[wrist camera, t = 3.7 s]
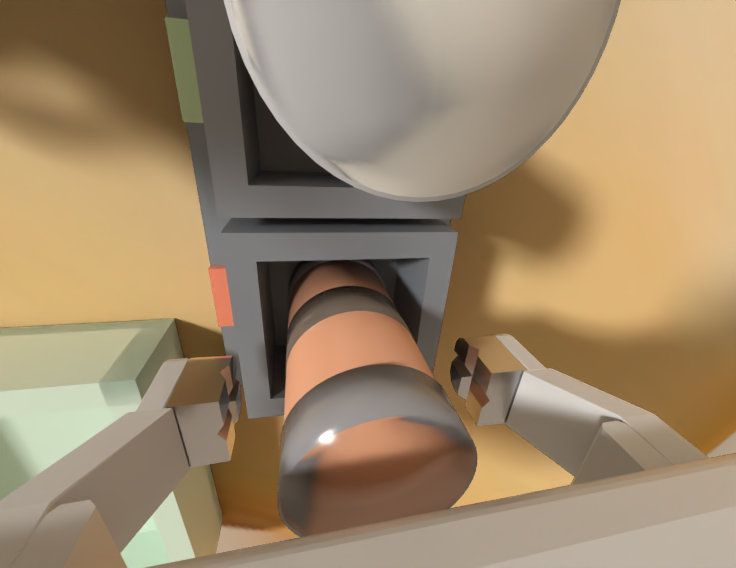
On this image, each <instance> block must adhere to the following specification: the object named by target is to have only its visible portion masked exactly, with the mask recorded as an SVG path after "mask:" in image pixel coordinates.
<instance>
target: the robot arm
mask: <svg viewBox="0 0 736 568" xmlns="http://www.w3.org/2000/svg"><path fill="white" fill-rule="evenodd" d="M454 350H455V352H456V353H457V355H458V356H457V357H456V358H455V359H454V360H453V361H452V364H451V370H450V374H451V382H452V384H453V387H454V389H455V391H456V393H457V394H458V395H459V396H460V397H462V398H464V399H465V400H466V404H465V408H466V409H467V411H468V413H469V414H470V416H471V418H472V419H473V421H474V423H475V424H476V426H485V425H494V424H503V423H506V425H507V426H508V427H509V428H510V429H512V430H513V431H514V432H516V433H517V434H518V435H520V436H521V437H522V438H524V439H525V440H526V441H528V442H529V443H530V444H532V445H533V446H534V447H536V448H537V449H538V450H540V451H541V452H542V453H544V454H545V455H546V456H548V457H549V458H550V459H552V460H553V461H554V462H556V463H557V464H558V465H560V466H561V467H562V468H564V469H565V470H566V471H568V472H569V473H570V474H572V475H573V476H574V479H573V480H572V482H571V484H570V485H568V486H562V487H557V488H552V489H547V490H542V491H537V492H532V493H526V494H521V495H516V496H511V497H506V498H501V499H496V500H490V501H485V502H480V503H475V504H470V505H465V506H460V507H454V508H449V509H444V510H439V511H434V512H429V513H423V514H418V515H413V516H408V517H403V518H398V519H393V520H387V521H382V522H377V523H372V524H367V525H362V526H356V527H351V528H346V529H341V530H336V531H331V532H325V533H320V534H315V535H310V536H305V537H300V538H294V539H289V540H284V541H279V542H274V543H269V544H263V545H258V546H253V547H248V548H243V549H238V550H232V551H228V552H222V553H217V554H212V555H206V556H201V557H196V558H191V559H186V560H181V561H175V562H170V563H165V564H160V565H155V566H150V567H144V568H736V453H733V454H728V455H723V456H717V457H712V458H708V457H707V456H706V455H705V454H703V453H702V452H701V451H700V450H698V449H697V448H696V447H695V446H693V445H692V444H691V443H690V442H688V441H687V440H686V439H685V438H683V437H682V436H681V435H680V434H678V433H677V432H676V431H675V430H674V429H672V428H671V427H670V426H669V425H667V424H666V423H665V422H664V421H662V420H661V419H660V418H659V417H657V416H656V415H655V414H653V413H651V412H649V411H647V410H644V409H642V408H640V407H638V406H635V405H633V404H631V403H629V402H626V401H624V400H622V399H620V398H617V397H615V396H613V395H611V394H608V393H606V392H604V391H602V390H599V389H597V388H595V387H593V386H590V385H588V384H586V383H584V382H581V381H579V380H577V379H575V378H572V377H570V376H568V375H566V374H563V373H561V372H559V371H557V370H554V369H552V368H545V367H544V366H543V365H542V364H541V363H540V362H539V361H538V360H537V359H536V358H535V357H534V356H533V355H532V354H531V353H529V352H528V351H527V350H526V349H525V348H524V347H523V346H522V345H521V344H520V343H519V342H518V341H517V340H516V339H515V338H514V337H513V336H512V335H509V334H507V333H504V334H495V335H490V336H479V337H467V338H459V339H458V340H457V342H456V345H455V349H454ZM236 373H237V363H236V358H235V357H234V355H231V356H214V357H196V358H182V359H168V360H167V361H165V362H164V363H163V364H162V366H161V368H160V369H159V371H158V373H157V375H156V376H155V378H154V380H153V382H152V383H151V385H150V387H149V389H148V390H147V392H146V394H145V396H144V397H143V399H142V401H141V403H140V404H139V406H138V408H137V410H136V411H135V412H128V413H126V414H125V415H123V416H122V417H120V418H119V419H117V420H116V421H115V422H113V423H112V424H110V425H109V426H107V427H106V428H104V429H103V430H102V431H100V432H99V433H97V434H96V435H94V436H93V437H91V438H90V439H89V440H87V441H86V442H84V443H83V444H81V445H80V446H78V447H77V448H76V449H74V450H73V451H71V452H70V453H68V454H67V455H65V456H64V457H63V458H61V459H60V460H58V461H57V462H55V463H54V464H52V465H51V466H50V467H48V468H47V469H45V470H44V471H42V472H41V473H39V474H38V475H37V476H35V477H34V478H32V479H31V480H29V481H28V482H26V483H25V484H24V485H22V486H21V487H19V488H18V489H16V490H15V491H13V492H12V493H11V494H9V495H8V496H6V497H5V498H3V499H2V500H0V568H127V566H126V564H125V562H124V560H123V558H122V556H121V554H120V553H121V552H122V551H123V550H124V548H125V547H126V546H127V545H128V544H129V542H130V541H131V540H132V539H133V538H134V536H135V535H136V534H137V533H138V532H139V530H140V529H141V528H142V527H143V526H144V524H145V523H146V522H147V521H148V520H149V518H150V517H151V516H152V515H153V514H154V512H155V511H156V510H157V509H158V508H159V506H160V505H161V504H162V503H163V502H164V500H165V499H166V498H167V497H168V496H169V494H170V493H171V492H172V491H173V490H174V489H175V487H176V486H177V485H178V484H179V483H180V481H181V480H182V479H183V478H184V477H185V475H186V474H187V473H188V472H189V471H190V468H191V467H197V466H203V465H209V464H215V463H221V462H227V461H231V456H232V451H233V446H234V441H235V436H236V435H235V429H234V424H235V423H236V422H237V421H238V420H239V416H240V409H241V388H240V382H239V381H238V380H236V379H235V377H236Z"/></svg>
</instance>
